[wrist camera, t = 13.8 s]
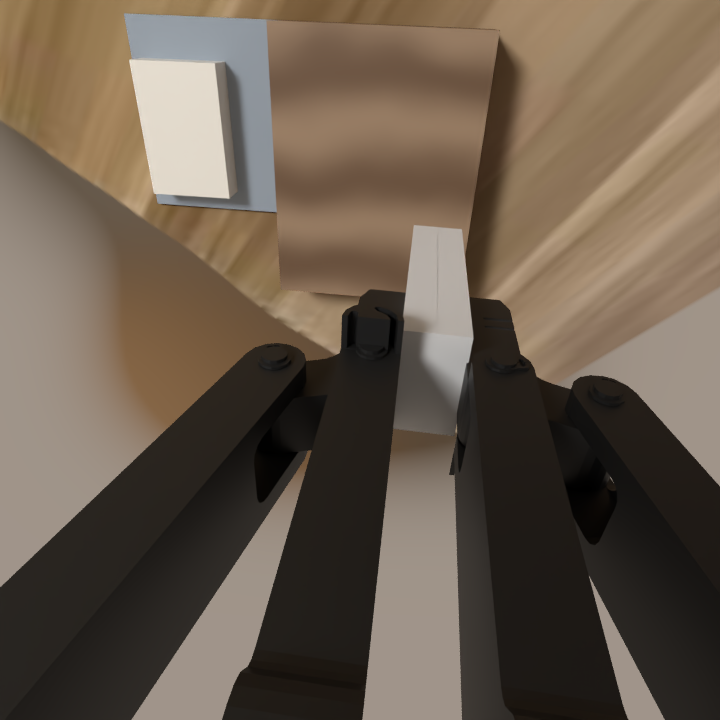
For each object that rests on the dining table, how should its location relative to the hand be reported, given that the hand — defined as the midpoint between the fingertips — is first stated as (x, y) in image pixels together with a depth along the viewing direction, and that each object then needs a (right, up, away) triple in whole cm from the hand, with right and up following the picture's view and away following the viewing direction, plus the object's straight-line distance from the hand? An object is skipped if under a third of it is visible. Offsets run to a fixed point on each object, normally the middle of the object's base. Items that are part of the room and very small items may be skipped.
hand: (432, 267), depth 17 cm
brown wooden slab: (-1, +12, +22) cm, 25 cm away
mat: (-13, +15, +22) cm, 30 cm away
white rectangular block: (-15, +13, +21) cm, 29 cm away
